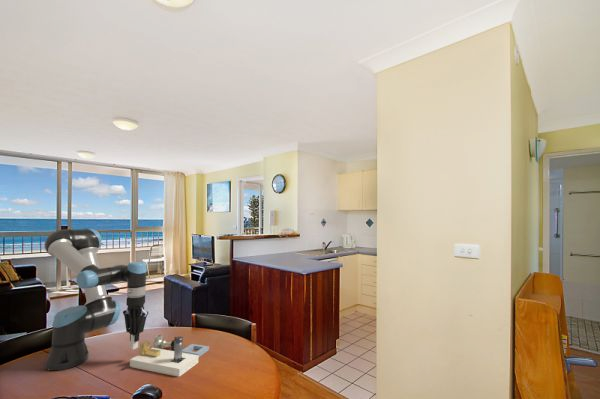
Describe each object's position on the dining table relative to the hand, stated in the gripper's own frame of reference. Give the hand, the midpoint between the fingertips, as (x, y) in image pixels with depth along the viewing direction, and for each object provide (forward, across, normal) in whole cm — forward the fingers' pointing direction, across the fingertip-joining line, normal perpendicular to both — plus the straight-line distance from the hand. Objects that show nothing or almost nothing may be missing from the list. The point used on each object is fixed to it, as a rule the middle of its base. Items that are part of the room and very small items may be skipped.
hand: (134, 348), depth 128 cm
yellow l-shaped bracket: (+1, +9, 0) cm, 10 cm away
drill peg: (+5, +24, 0) cm, 25 cm away
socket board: (+6, +17, 0) cm, 18 cm away
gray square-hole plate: (+6, +22, +14) cm, 27 cm away
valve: (+6, +5, +13) cm, 16 cm away
